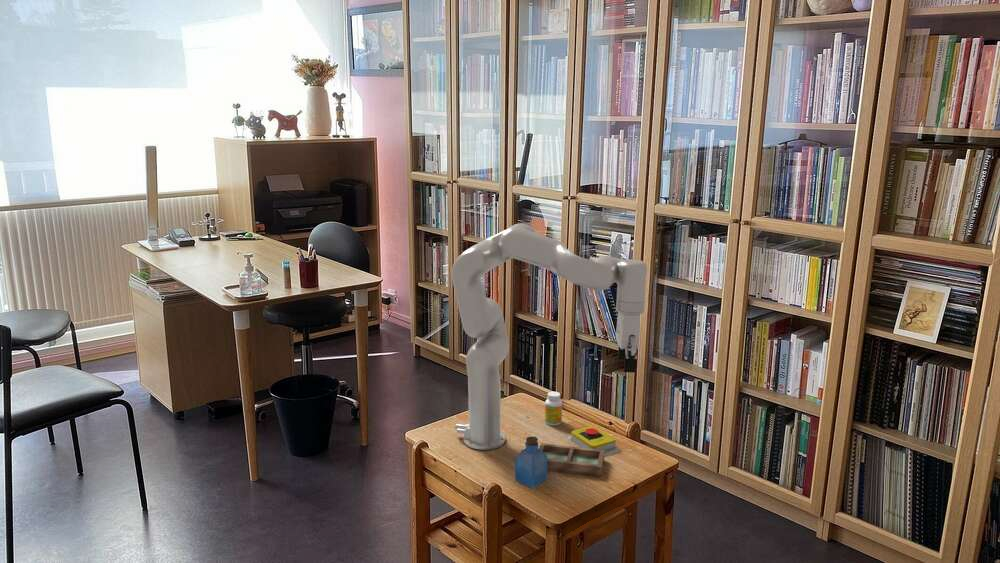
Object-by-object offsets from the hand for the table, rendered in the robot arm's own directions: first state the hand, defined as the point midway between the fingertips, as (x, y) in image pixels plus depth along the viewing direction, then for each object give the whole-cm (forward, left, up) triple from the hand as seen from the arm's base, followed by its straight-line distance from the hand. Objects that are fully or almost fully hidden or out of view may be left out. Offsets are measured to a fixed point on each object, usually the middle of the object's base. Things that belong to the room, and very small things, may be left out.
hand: (626, 365), depth 198 cm
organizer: (-14, -5, -29) cm, 33 cm away
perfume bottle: (-23, -16, -29) cm, 41 cm away
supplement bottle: (-23, +21, -29) cm, 43 cm away
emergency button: (-9, +9, -30) cm, 32 cm away
